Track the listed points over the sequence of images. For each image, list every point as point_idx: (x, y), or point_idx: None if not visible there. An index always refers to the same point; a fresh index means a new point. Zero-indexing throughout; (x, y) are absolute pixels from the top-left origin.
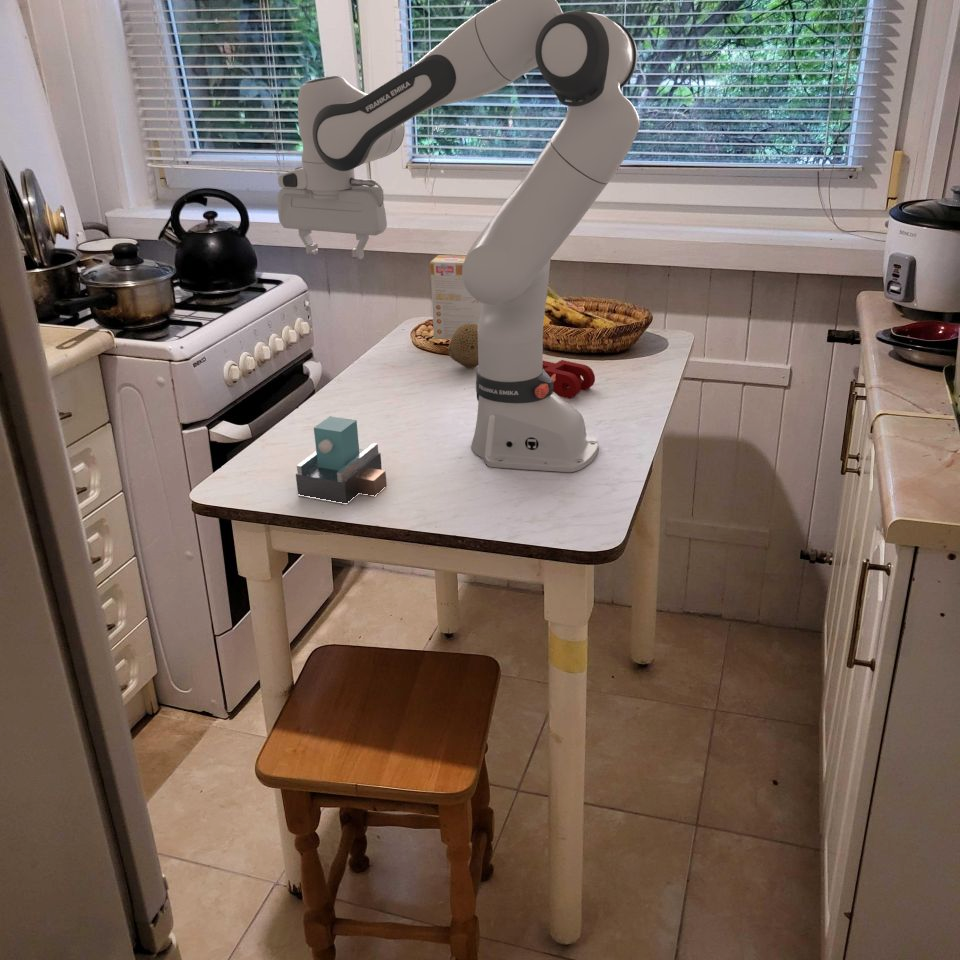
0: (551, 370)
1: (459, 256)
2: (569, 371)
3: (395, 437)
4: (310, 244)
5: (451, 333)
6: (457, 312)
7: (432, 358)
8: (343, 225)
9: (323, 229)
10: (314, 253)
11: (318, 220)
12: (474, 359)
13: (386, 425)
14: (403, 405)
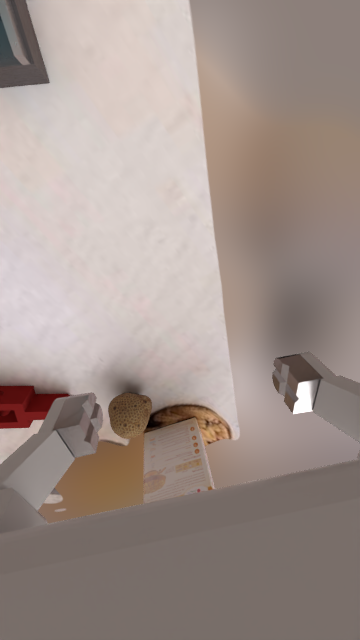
0: (13, 406)
1: None
2: (14, 416)
3: (62, 220)
4: (316, 391)
5: (181, 431)
6: (177, 452)
7: (177, 396)
8: (23, 625)
9: (254, 496)
10: (276, 364)
11: (356, 608)
12: (114, 398)
13: (99, 246)
14: (124, 301)
